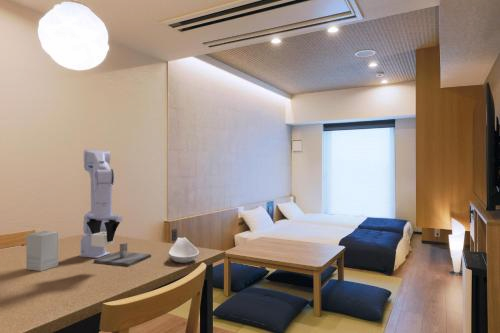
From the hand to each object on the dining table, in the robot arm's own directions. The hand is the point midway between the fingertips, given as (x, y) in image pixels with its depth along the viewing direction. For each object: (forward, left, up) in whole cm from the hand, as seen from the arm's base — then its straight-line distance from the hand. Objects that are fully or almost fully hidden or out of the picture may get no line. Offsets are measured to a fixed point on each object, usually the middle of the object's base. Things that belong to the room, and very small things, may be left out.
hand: (103, 240), depth 118 cm
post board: (-2, +13, -10) cm, 17 cm away
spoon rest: (+19, +24, -11) cm, 32 cm away
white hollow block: (0, 0, -1) cm, 1 cm away
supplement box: (-23, -5, -11) cm, 26 cm away
